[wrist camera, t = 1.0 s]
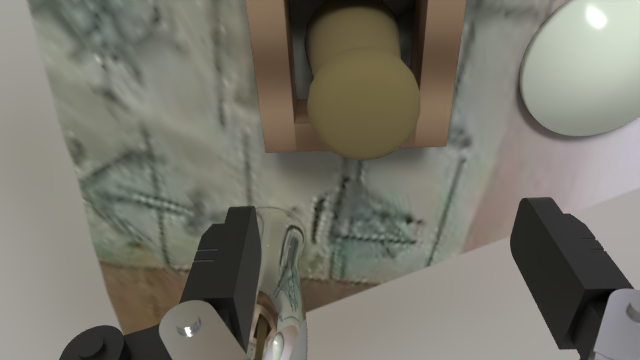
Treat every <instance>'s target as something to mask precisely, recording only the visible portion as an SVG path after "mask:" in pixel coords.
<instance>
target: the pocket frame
mask: <svg viewBox="0 0 640 360" xmlns="http://www.w3.org/2000/svg"><path fill="white" fill-rule="evenodd" d="M465 6H466V0H415V12H414V26H413V39H412V52H411V65H410V70H411V72H412V73H413V75H414V77H415V80H416V82H417V85H418V88H419V90H420V107H421V109H420V115H419V118H418V121H417V124H416V127H415V130H414V131H413V132H412V134H411V135H410V136H409V138H408V139H407V140H406V142H405V143H404V144H402V145H401V146H400V147H398V148H413V147H441V146H446V144H447V137H448V129H449V122H450V115H451V108H452V100H453V93H454V86H455V79H456V71H457V64H458V57H459V50H460V42H461V35H462V28H463V21H464V13H465ZM246 8H247V15H248V23H249V30H250V38H251V46H252V53H253V61H254V68H255V76H256V83H257V91H258V98H259V106H260V113H261V121H262V128H263V136H264V144H265V151H266V153H273V152H301V151H329V149H328V148H327V147H326V146H325V145H324V144H323V143H321V142H320V141H319V139H318V137H317V135H316V134H315V132H314V130H313V128H312V126H311V124H310V122H309V116H308V110H307V101H308V100H297V97H296V84H295V71H294V59H293V46H292V34H291V21H290V9H289V0H246Z"/></svg>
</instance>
